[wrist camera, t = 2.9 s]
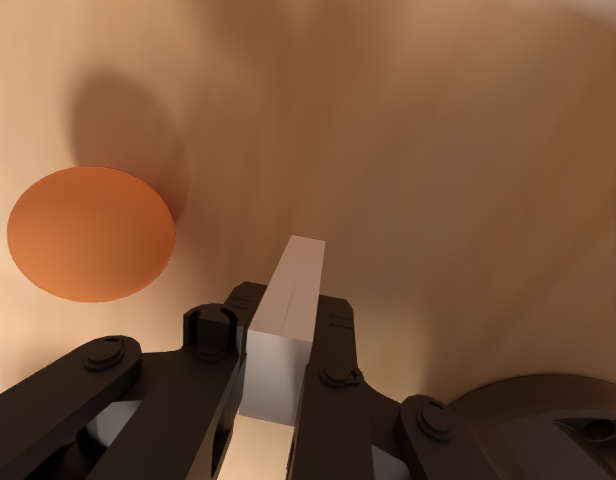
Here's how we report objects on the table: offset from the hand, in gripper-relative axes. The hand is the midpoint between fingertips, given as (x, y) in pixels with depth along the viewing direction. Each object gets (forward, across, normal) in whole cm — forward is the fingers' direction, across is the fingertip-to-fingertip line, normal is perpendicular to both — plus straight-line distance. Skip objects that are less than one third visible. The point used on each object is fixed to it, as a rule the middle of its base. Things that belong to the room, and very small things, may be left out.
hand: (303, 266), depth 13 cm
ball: (0, +9, 0) cm, 9 cm away
